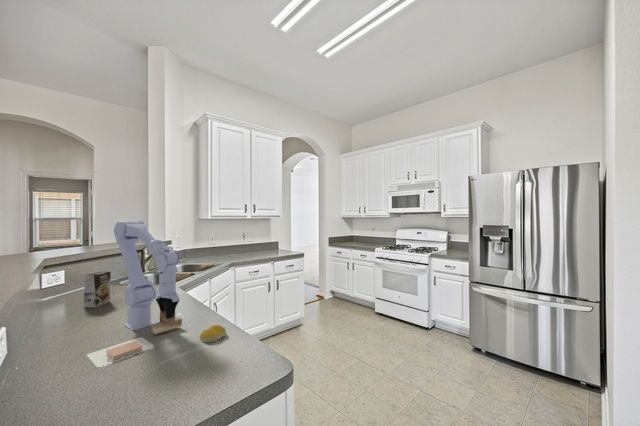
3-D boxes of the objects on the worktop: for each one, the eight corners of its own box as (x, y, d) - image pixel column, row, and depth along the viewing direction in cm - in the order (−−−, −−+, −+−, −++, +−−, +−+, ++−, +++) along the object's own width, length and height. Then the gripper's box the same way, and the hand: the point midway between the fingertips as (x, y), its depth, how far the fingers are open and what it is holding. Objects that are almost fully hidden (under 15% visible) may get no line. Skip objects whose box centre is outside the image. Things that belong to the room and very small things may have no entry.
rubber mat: (86, 355, 87) (86, 354, 87) (141, 337, 100) (141, 336, 100) (97, 368, 79) (97, 368, 79) (156, 347, 92) (156, 347, 92)
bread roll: (195, 341, 97) (195, 330, 98) (213, 331, 106) (213, 321, 106) (212, 345, 94) (212, 334, 94) (230, 335, 103) (230, 324, 103)
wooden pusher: (150, 331, 102) (151, 313, 102) (177, 324, 110) (178, 307, 110) (155, 334, 100) (156, 315, 100) (182, 326, 108) (182, 309, 108)
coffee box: (96, 307, 132) (96, 275, 132) (83, 307, 132) (83, 275, 132) (110, 301, 141) (111, 271, 141) (98, 301, 141) (99, 271, 141)
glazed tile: (106, 350, 87) (113, 356, 83) (134, 340, 94) (142, 346, 90) (106, 354, 87) (113, 361, 83) (134, 345, 94) (142, 350, 90)
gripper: (148, 281, 106) (148, 315, 106) (165, 287, 98) (164, 324, 97) (167, 277, 112) (167, 310, 112) (184, 283, 103) (184, 318, 103)
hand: (167, 316), depth 105 cm, fingers closed on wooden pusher, 4 cm apart
